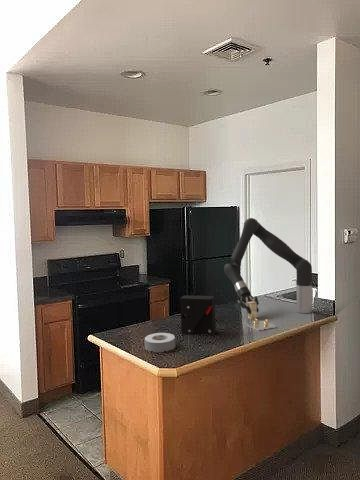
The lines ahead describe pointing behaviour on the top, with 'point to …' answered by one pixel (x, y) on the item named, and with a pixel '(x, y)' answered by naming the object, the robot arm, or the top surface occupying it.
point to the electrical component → (198, 315)
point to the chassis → (261, 325)
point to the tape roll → (160, 342)
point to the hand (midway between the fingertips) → (254, 312)
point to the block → (252, 310)
